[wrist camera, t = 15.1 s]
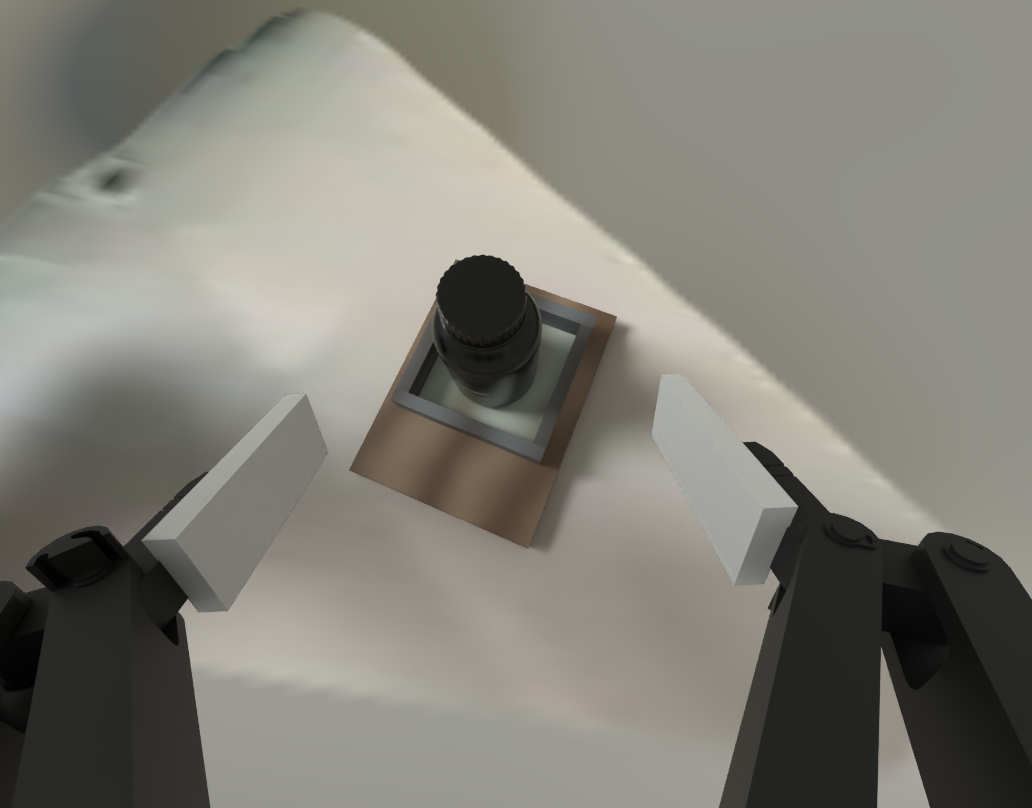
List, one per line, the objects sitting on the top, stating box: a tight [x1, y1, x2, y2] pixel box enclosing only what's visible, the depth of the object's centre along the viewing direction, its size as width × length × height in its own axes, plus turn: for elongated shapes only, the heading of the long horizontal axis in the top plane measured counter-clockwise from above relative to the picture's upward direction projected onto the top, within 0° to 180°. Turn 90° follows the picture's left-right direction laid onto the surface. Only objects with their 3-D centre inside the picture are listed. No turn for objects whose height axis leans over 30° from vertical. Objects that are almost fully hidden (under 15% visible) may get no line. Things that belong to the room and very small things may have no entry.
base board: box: [350, 260, 617, 548], centre depth 31 cm, size 15×20×4 cm
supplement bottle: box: [432, 255, 542, 407], centre depth 26 cm, size 7×7×12 cm
